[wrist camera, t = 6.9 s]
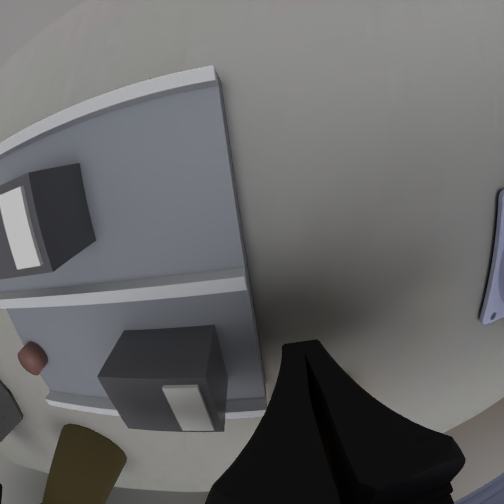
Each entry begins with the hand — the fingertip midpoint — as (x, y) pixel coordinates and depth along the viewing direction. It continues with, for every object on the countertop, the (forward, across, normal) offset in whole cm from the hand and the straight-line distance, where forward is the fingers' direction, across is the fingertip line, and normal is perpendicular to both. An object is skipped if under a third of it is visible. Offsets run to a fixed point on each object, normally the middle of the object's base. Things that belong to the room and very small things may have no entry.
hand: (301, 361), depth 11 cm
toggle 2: (+1, +5, 0) cm, 5 cm away
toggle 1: (+1, +9, -7) cm, 12 cm away
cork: (+3, +17, +12) cm, 20 cm away
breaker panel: (+2, +8, -4) cm, 9 cm away
